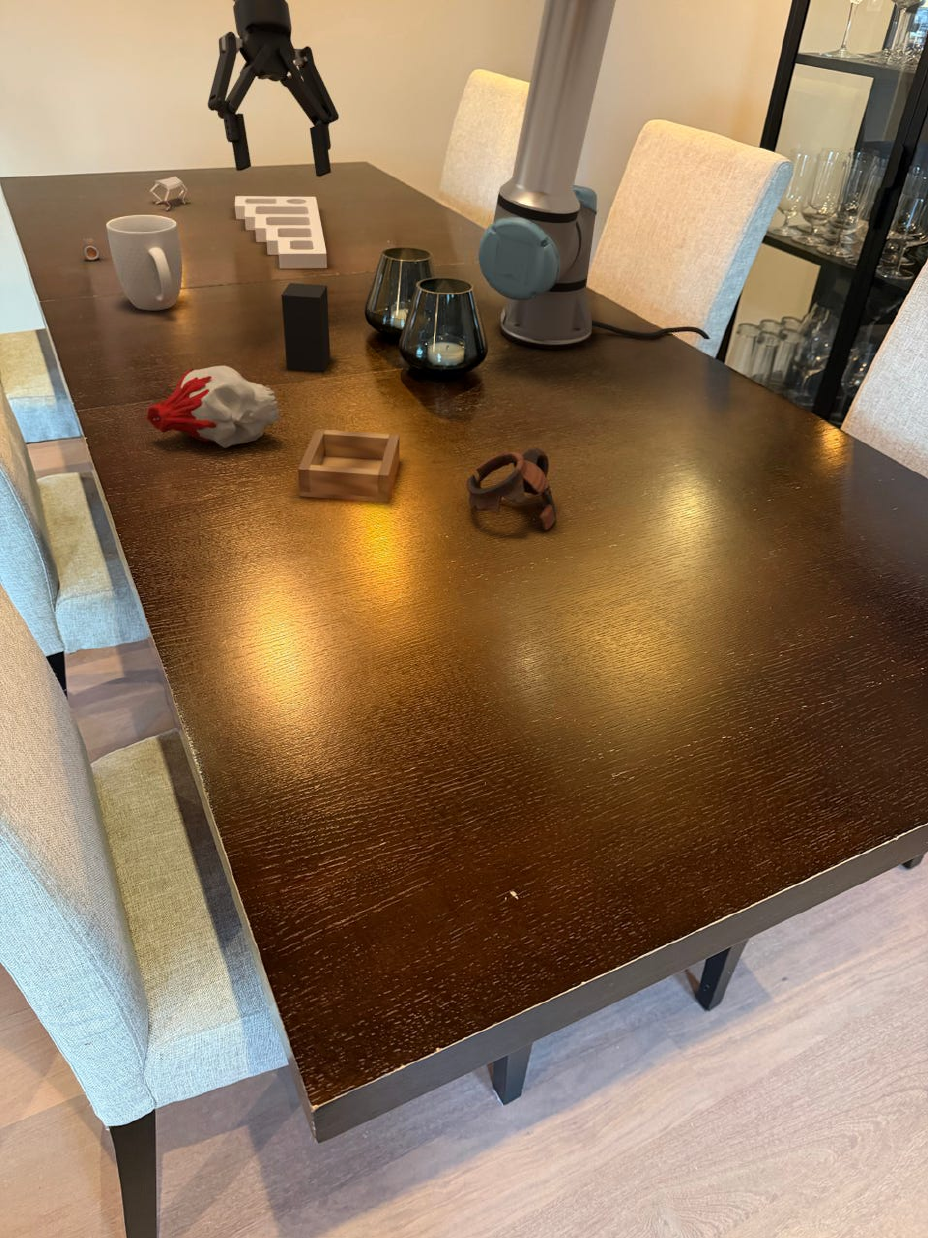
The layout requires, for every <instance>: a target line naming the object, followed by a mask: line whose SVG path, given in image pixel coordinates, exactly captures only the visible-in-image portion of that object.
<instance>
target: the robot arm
mask: <svg viewBox="0 0 928 1238" xmlns="http://www.w3.org/2000/svg"><path fill="white" fill-rule="evenodd" d="M232 1H233V3H234V4H233V6H232V11H233V18H234V24H235V29H236V30H235V31H236V34H237V36H238V37H237V36H236V34H235V33H234V32H232V31H228V32H227V33H225V34H224V35H222V36H221V37H219V38H218V51H219V52H218V53H219V55H218V59H217V64H216V68H215V71H214V76H213V79H212V83H211V88H210V93H209V95H208V96H209V97H208V101H207V108H208V109H209V110H210V111H212V112H214V111H215V112H217V113H216V114H217V116H218V118H219V119H221V120H223V125H224V130H225V137H226V140H227V142H228V143H231V145H232V146H231V147H232V152H233V153H232V154H233V158H234V164H235V170H236V171H238V172H242V171H244V170H247V169H248V168H251V167H252V162H251V156H250V150H249V149H250V148H249V143H248V135H247V130H246V124H245V118H244V117H245V116H244V113H237V111H238V110H239V108H240V106H241V105H242V102H243V101H244V99H245V97H246V95H247V93H248V92H249V90H250V89H251V87H252V85H253V84H254V81H255V79H256V78H257V80H262V81H263V80H269V81H271V82H276V83H277V82H280V84H281V85H282V86H283V87H284V88H286V89H287V90H288V91H289V93H290V94H291V96H292V97H293V98H294V100H295V102H297V104H298V105H299V106H300V108H301V109H302V111H303V112H304V114H305V115H306V116H307V118H308V120H309V121H310V122H311V124H312V125H313V126H311V127H310V128H309V133H310V140H311V147H312V154H313V162H314V169H315V176H316V177H318V178H321V177H324V176H327V175H329V174H331V173H332V170H331V161H330V153H329V150H331V147H332V143H331V136H330V129H329V127H330V124H333V123H334V122H336V121H338V120H339V119H340V116H339V113H338V110H337V108H336V106H335V105H334V102H333V100H332V98H331V96H330V93H329V91H328V89H327V87H326V85H325V83H324V81H323V78H322V76H321V75H320V72H319V70H318V68H317V66H316V63H315V58H314V54H313V53H314V52H313V50H312V48H311V47H310V46H308V45H307V46H304V47H303V48H294V44H293V43H292V39H291V37H292V31H293V30H292V20H291V14H290V7H289V6H290V5H289V3H288V2H287V1H286V0H232ZM616 2H617V0H544V5H543V10H542V15H541V21H540V26H539V32H538V37H537V42H536V48H535V53H534V59H533V64H532V70H531V75H530V80H529V85H528V89H527V90H528V91H527V97H526V102H525V107H524V112H523V118H522V123H521V129H520V134H519V139H518V145H517V149H516V154H515V161H514V166H513V171H512V176H511V178H510V179H509V180H508V181H506V182H505V183H503V184H502V185H500V187H499V189H498V194H497V199H496V205H495V210H494V215H493V221H492V223H491V224H490V225H489V226H488V227H487V228H486V230H485V232H484V234H483V235H482V237H481V240H480V242H479V247H478V263H479V264H478V265H479V267H480V270H481V273H482V275H483V277H484V278H485V279H486V282H487V283H488V285H489V286H490V287H491V288H492V289H493V290H494V291H495V292H497V293H498V294H499V295H501V296H503V297H504V298H506V299H508V300H507V302H506V305H505V307H503V308H502V310H501V314H500V326H499V330H500V331H499V332H500V333H501V334H502V336H503V337H504V338H506V339H507V340H509V341H511V342H513V343H516V344H518V345H522V346H526V347H530V348H535V349H545V350H562V349H563V350H564V349H571V348H577V347H580V346H582V345H584V344H587V343H588V342H589V341H590V340H591V338H592V333H593V327H595V328H599V329H603V330H606V331H610V332H611V333H616V334H619V335H623V336H629V337H632V338H633V337H634V338H639V339H654V338H658V337H660V336H662V335H665V334H674V333H675V334H676V333H684V332H686V333H687V332H689V333H695V334H697V335H699V336H701V338H703V340H711V337H710V336H709V335H708V334H707V333H706V332H705V331H704V330H703V329H701V328H699V327H696V326H689V325H687V326H677V327H664V328H662V329H659V330H657V331H654V332H640V331H633V330H629V329H624V328H621V327H617V326H614V325H611V324H608V323H604V322H601V321H596V320H593V319H592V316H591V310H590V304H589V298H588V293H587V284H588V276H589V268H590V262H591V254H592V246H593V238H594V231H595V223H596V217H597V214H598V209H597V207H598V195H597V193H596V191H595V190H594V189H592V188H590V187H587V186H581V185H577V184H575V181H576V177H577V173H578V168H579V164H580V159H581V155H582V150H583V146H584V141H585V138H586V133H587V128H588V124H589V120H590V115H591V112H592V107H593V103H594V99H595V93H596V89H597V84H598V82H599V81H598V80H599V76H600V72H601V68H602V63H603V59H604V54H605V50H606V45H607V41H608V36H609V32H610V28H611V25H612V24H611V23H612V19H613V15H614V9H615V6H616V5H615V4H616ZM238 53H239V54H240V55H241V57H242V58H243V60H244V61H245V63H244V65H243V66H242V68H241V69H240V72H239V75H238V78H237V79H236V81H235V82H234V84H233V86H232V88H231V90H230V91H229V87H230V83H231V79H232V75H233V71H234V67H235V63H236V59H237V55H238ZM289 74H290V75H289ZM228 91H229V94H228Z"/></svg>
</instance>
